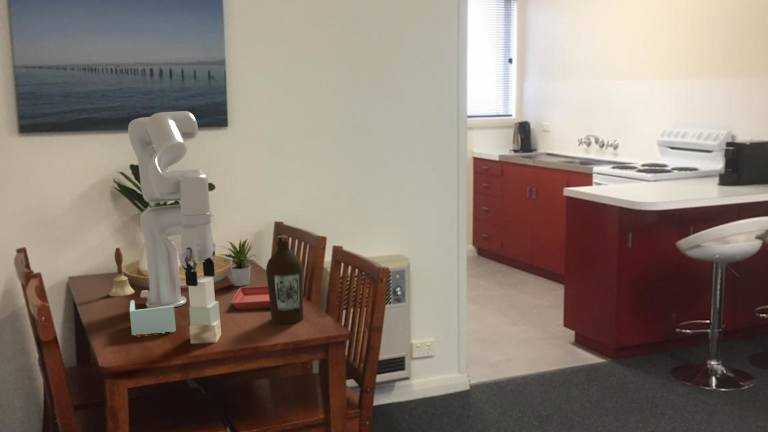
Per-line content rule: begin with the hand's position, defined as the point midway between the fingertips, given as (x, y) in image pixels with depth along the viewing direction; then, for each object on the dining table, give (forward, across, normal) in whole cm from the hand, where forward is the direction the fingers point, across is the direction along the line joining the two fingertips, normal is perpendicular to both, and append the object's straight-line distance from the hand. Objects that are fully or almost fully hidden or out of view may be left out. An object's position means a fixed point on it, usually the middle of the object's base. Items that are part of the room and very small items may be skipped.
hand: (200, 280), depth 220 cm
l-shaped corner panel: (+17, -6, -19) cm, 26 cm away
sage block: (+12, 0, +1) cm, 12 cm away
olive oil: (+17, -19, +17) cm, 31 cm away
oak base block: (+17, +1, +1) cm, 17 cm away
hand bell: (+18, -39, -52) cm, 68 cm away
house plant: (+18, -57, -16) cm, 62 cm away
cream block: (+6, +1, 0) cm, 7 cm away
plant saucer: (+18, -36, +2) cm, 40 cm away
